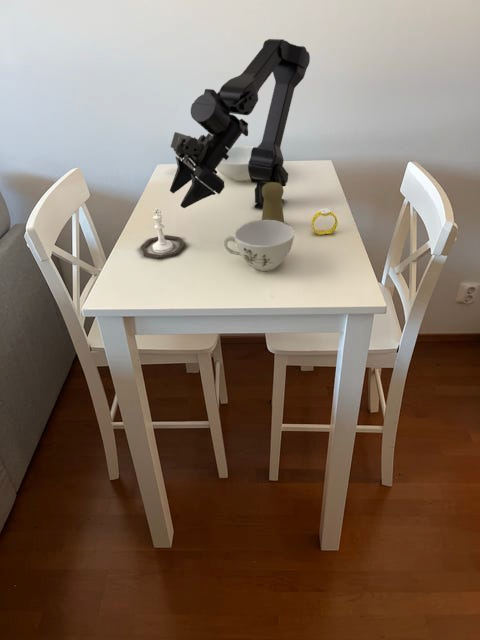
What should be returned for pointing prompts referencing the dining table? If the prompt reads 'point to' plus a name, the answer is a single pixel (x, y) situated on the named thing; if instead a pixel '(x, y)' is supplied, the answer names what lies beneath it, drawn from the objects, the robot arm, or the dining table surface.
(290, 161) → the dining table surface
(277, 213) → the cork
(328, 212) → the watch
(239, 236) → the teacup
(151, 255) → the spot ring
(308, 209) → the dining table surface
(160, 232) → the chess piece
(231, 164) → the cereal bowl
